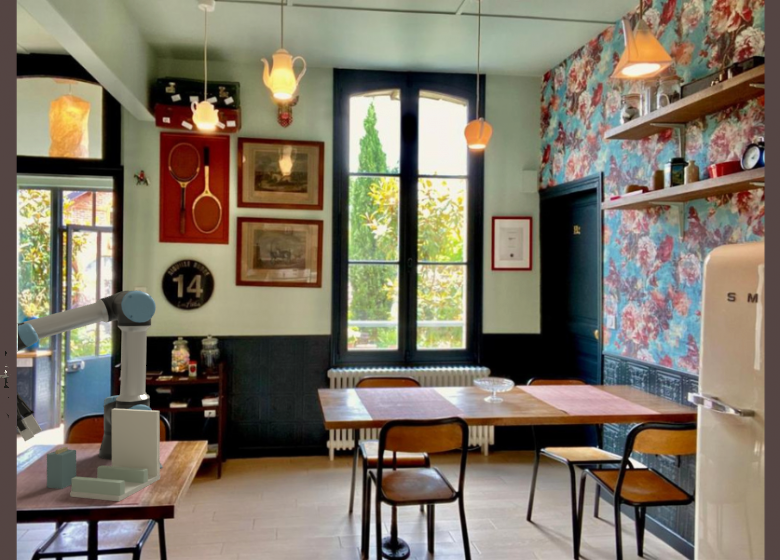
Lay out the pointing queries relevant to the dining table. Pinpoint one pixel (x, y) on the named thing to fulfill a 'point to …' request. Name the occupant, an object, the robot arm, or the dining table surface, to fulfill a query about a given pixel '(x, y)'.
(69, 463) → the teal block with bar
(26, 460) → the dining table surface
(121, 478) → the pale green rail stand
